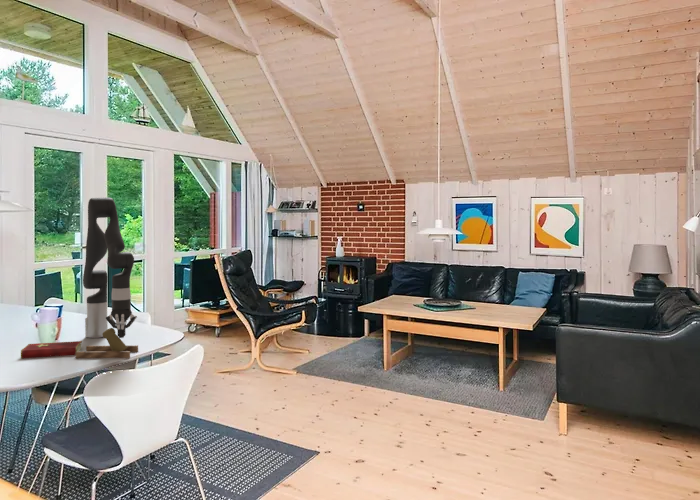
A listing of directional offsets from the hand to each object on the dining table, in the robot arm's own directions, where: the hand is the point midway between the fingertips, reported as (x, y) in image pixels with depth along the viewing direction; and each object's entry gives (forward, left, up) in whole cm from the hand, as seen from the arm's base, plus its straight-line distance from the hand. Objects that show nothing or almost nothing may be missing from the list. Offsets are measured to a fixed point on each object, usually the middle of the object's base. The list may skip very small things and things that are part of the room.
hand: (121, 337), depth 221 cm
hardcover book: (-30, +2, -8) cm, 31 cm away
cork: (0, 0, -6) cm, 6 cm away
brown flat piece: (-6, 0, -7) cm, 9 cm away
